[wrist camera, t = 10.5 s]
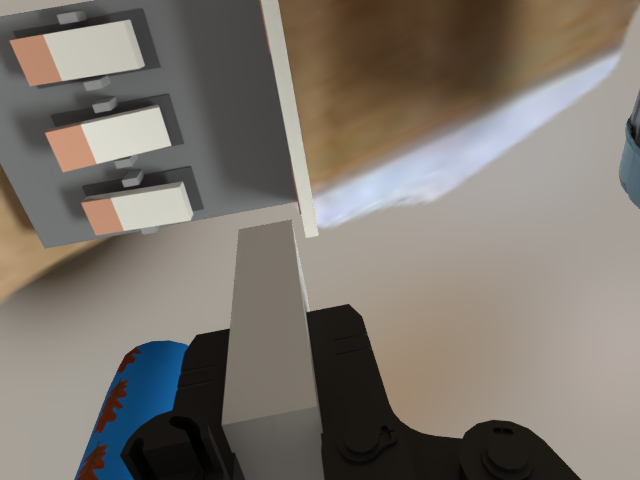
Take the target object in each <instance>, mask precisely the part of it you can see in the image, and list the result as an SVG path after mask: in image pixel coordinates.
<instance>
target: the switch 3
mask: <svg viewBox="0 0 640 480" xmlns="http://www.w3.org/2000/svg"><path fill="white" fill-rule="evenodd" d="M81 204H82V206H83V208H84V211H85V213H86V215H87V217H88V219H89V222H90V224H91V226H92V228H93V230H94V233H95V235H102V234H109V233H115V232H121V231H127V230H134V229H140V228H146V227H153V226H159V225H166V224H172V223H178V222H185V221H191V218H192V216H193V211H192V208H191V205H190V202H189V199H188V196H187V193H186V190H185V187H184V183H183V181H182V182H176V183H170V184H164V185H157V186H151V187H145V188H138V189H132V190H126V191H120V192H113V193H106V194H100V195H94V196H88V197H86V198H85V199H84V200H83V201H82V202H81Z"/></svg>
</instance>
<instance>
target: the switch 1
mask: <svg viewBox="0 0 640 480" xmlns="http://www.w3.org/2000/svg"><path fill="white" fill-rule="evenodd" d="M9 41H10V43H11V45H12V48H13V50H14V52H15V54H16V56H17V59H18V61H19V63H20V65H21V68H22V70H23V72H24V74H25V76H26V79H27V81H28V83H29V85H30V86H35V85H41V84H48V83H54V82H60V81H66V80H72V79H78V78H85V77H91V76H97V75H103V74H109V73H116V72H122V71H128V70H134V69H139V68H142V67H144V66H145V64H144V61H143V58H142V55H141V52H140V49H139V46H138V42H137V39H136V36H135V33H134V30H133V27H132V24H131V21H130V20H124V21H119V22H113V23H107V24H101V25H95V26H89V27H83V28H78V29H72V30H66V31H60V32H54V33H48V34H43V35H37V36H31V37H25V38H19V39H14V40H9Z"/></svg>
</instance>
